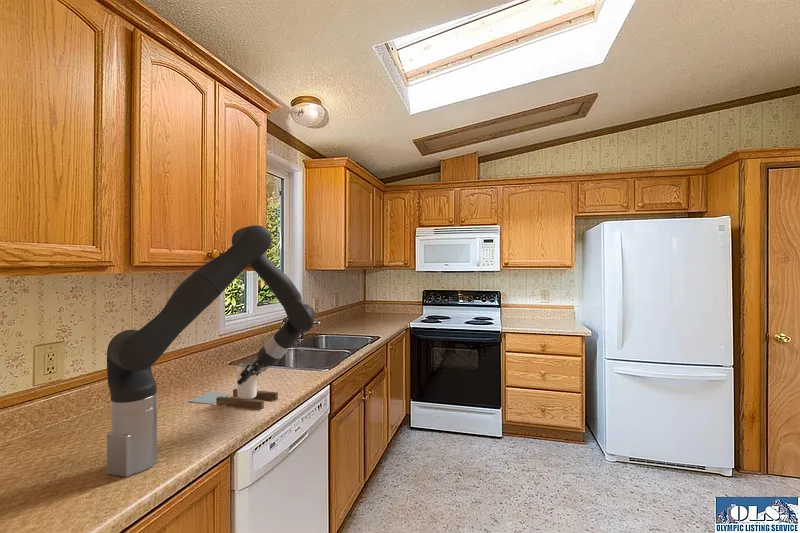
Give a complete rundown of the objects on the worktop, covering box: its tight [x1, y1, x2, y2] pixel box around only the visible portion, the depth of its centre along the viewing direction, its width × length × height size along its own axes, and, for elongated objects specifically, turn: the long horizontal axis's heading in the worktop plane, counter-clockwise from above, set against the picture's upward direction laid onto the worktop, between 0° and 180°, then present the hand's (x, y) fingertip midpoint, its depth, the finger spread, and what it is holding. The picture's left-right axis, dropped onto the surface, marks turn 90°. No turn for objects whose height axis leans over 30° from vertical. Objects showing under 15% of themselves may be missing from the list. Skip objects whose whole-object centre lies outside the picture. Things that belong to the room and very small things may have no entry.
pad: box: [187, 391, 232, 405], centre depth 139 cm, size 10×10×1 cm
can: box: [236, 361, 258, 400], centre depth 135 cm, size 6×6×12 cm
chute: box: [215, 388, 279, 410], centre depth 135 cm, size 10×18×2 cm, turn 76°
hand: (244, 381), depth 135 cm, fingers closed on can, 5 cm apart
